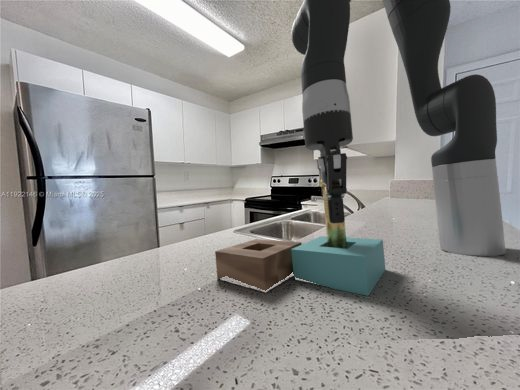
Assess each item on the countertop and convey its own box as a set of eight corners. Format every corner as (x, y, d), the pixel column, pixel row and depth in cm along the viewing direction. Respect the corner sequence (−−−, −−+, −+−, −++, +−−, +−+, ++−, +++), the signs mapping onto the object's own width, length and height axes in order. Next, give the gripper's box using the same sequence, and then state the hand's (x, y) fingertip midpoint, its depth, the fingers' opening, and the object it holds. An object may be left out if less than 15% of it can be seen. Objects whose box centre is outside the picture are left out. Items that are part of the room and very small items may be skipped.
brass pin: (331, 254, 38) (324, 180, 38) (354, 256, 35) (347, 178, 36) (321, 260, 35) (314, 180, 35) (346, 263, 32) (338, 177, 32)
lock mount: (258, 262, 46) (256, 238, 46) (303, 269, 39) (301, 242, 39) (217, 279, 38) (215, 251, 38) (265, 293, 30) (262, 258, 31)
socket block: (323, 261, 43) (320, 236, 43) (385, 269, 36) (382, 239, 36) (294, 280, 34) (291, 249, 35) (368, 295, 27) (364, 256, 27)
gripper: (362, 94, 28) (374, 226, 28) (341, 127, 42) (349, 216, 41) (304, 103, 29) (314, 229, 29) (302, 133, 43) (309, 218, 43)
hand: (335, 220), depth 35 cm, fingers closed on brass pin, 3 cm apart
